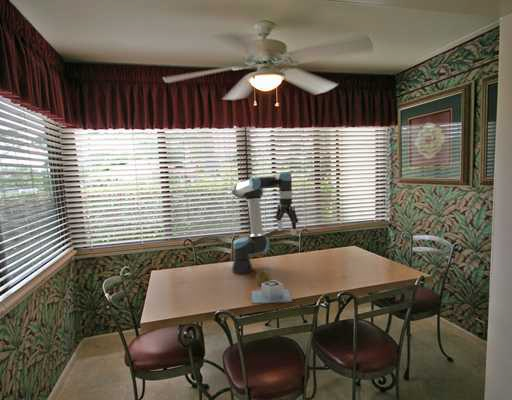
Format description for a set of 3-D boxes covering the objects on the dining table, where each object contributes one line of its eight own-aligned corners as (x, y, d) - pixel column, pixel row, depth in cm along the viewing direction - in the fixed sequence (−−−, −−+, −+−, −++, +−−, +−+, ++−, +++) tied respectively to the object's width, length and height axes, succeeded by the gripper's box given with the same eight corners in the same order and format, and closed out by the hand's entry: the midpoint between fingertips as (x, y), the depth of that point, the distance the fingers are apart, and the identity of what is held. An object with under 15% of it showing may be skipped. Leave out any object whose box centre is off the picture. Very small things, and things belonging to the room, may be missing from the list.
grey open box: (274, 291, 176) (273, 279, 175) (283, 296, 168) (283, 284, 167) (261, 294, 171) (261, 283, 170) (270, 300, 163) (270, 288, 163)
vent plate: (251, 291, 177) (251, 279, 176) (287, 289, 178) (287, 277, 177) (252, 303, 161) (251, 290, 160) (292, 301, 162) (291, 288, 161)
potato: (259, 288, 181) (259, 276, 180) (255, 281, 194) (255, 269, 193) (272, 287, 183) (272, 274, 182) (268, 279, 195) (267, 268, 194)
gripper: (269, 197, 187) (270, 229, 189) (293, 200, 165) (294, 237, 168) (278, 196, 191) (279, 228, 193) (303, 198, 169) (304, 235, 172)
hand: (286, 232), depth 180 cm, fingers open, 13 cm apart
